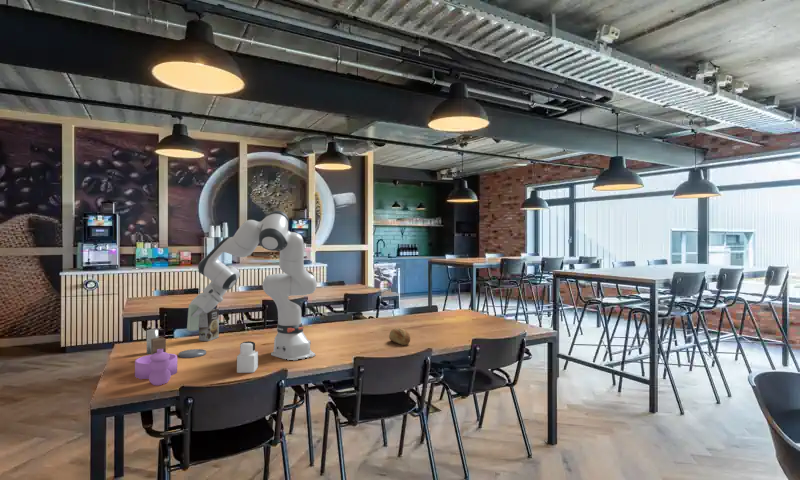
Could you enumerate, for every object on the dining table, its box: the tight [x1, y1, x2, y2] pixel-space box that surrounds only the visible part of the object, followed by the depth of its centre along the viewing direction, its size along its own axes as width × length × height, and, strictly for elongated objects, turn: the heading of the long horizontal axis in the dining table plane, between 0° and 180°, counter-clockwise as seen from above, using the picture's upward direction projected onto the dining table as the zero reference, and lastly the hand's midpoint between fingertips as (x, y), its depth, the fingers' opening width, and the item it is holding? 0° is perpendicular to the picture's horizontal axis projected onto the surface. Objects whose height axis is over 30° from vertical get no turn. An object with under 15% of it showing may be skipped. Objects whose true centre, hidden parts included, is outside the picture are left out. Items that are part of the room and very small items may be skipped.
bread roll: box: [388, 327, 411, 346], centre depth 237 cm, size 10×15×8 cm, turn 33°
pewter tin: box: [146, 328, 160, 355], centre depth 212 cm, size 5×5×11 cm
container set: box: [134, 349, 178, 386], centre depth 177 cm, size 25×15×13 cm, turn 34°
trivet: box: [177, 348, 207, 359], centre depth 210 cm, size 12×12×1 cm
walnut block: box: [150, 337, 167, 355], centre depth 203 cm, size 5×5×9 cm
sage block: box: [186, 303, 200, 332], centre depth 210 cm, size 4×4×12 cm
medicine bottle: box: [236, 340, 259, 374], centre depth 187 cm, size 7×7×12 cm
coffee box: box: [198, 308, 220, 342], centre depth 241 cm, size 9×6×16 cm
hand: (191, 315), depth 209 cm, fingers closed on sage block, 4 cm apart
